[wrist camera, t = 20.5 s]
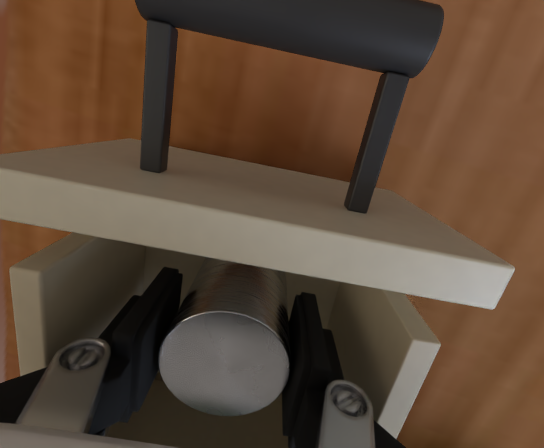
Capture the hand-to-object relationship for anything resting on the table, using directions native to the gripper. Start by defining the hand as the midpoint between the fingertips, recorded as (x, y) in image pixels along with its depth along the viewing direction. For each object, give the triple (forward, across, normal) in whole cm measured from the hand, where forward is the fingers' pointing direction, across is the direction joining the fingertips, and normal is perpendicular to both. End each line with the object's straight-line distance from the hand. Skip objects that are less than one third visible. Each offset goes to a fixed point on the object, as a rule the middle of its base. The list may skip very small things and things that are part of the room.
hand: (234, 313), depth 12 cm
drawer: (+4, 0, -1) cm, 4 cm away
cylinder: (+3, 0, 0) cm, 3 cm away
